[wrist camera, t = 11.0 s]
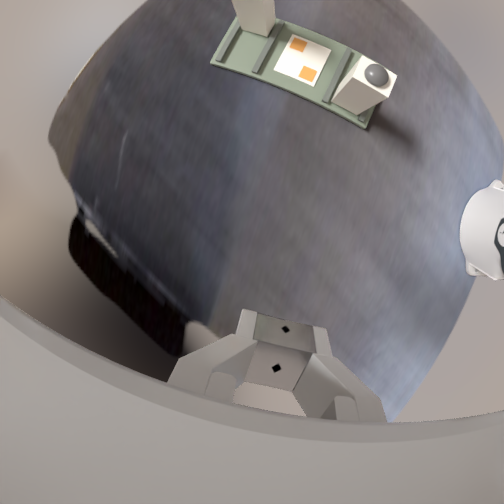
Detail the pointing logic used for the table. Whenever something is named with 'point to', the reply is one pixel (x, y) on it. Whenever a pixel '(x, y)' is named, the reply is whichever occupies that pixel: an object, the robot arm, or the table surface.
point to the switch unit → (292, 63)
